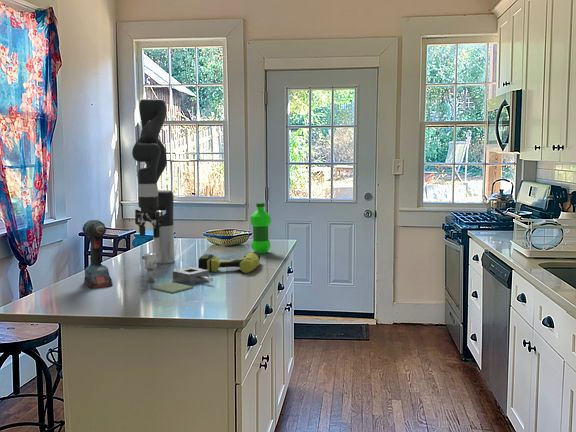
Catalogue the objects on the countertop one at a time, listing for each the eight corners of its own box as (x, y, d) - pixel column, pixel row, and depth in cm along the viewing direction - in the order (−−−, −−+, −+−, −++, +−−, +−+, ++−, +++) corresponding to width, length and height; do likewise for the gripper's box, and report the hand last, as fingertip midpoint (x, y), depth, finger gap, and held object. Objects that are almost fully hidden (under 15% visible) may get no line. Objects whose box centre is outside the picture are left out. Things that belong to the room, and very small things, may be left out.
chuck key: (140, 282, 224) (139, 254, 223) (154, 279, 230) (153, 252, 228) (147, 284, 222) (146, 256, 220) (161, 281, 227) (160, 253, 226)
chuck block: (172, 281, 227) (172, 271, 226) (191, 276, 234) (191, 266, 234) (202, 287, 216) (202, 276, 216) (221, 282, 224) (221, 272, 223)
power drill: (91, 292, 210) (88, 224, 207) (82, 279, 230) (79, 217, 227) (115, 289, 214) (113, 222, 211) (104, 277, 234) (102, 216, 231)
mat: (151, 288, 215) (151, 286, 215) (172, 283, 222) (171, 282, 222) (172, 293, 207) (172, 291, 207) (193, 288, 215) (193, 286, 215)
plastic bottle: (275, 251, 289) (274, 202, 286) (263, 255, 280) (262, 204, 278) (258, 250, 295) (258, 201, 292) (246, 253, 286) (246, 203, 283)
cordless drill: (211, 261, 266) (264, 262, 263) (196, 274, 241) (254, 276, 238) (210, 246, 264) (264, 247, 262) (196, 258, 240) (254, 259, 237)
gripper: (128, 195, 223) (130, 236, 225) (152, 196, 214) (153, 239, 216) (144, 193, 229) (145, 234, 231) (167, 195, 220) (169, 237, 222)
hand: (149, 236), depth 223 cm, fingers open, 8 cm apart
